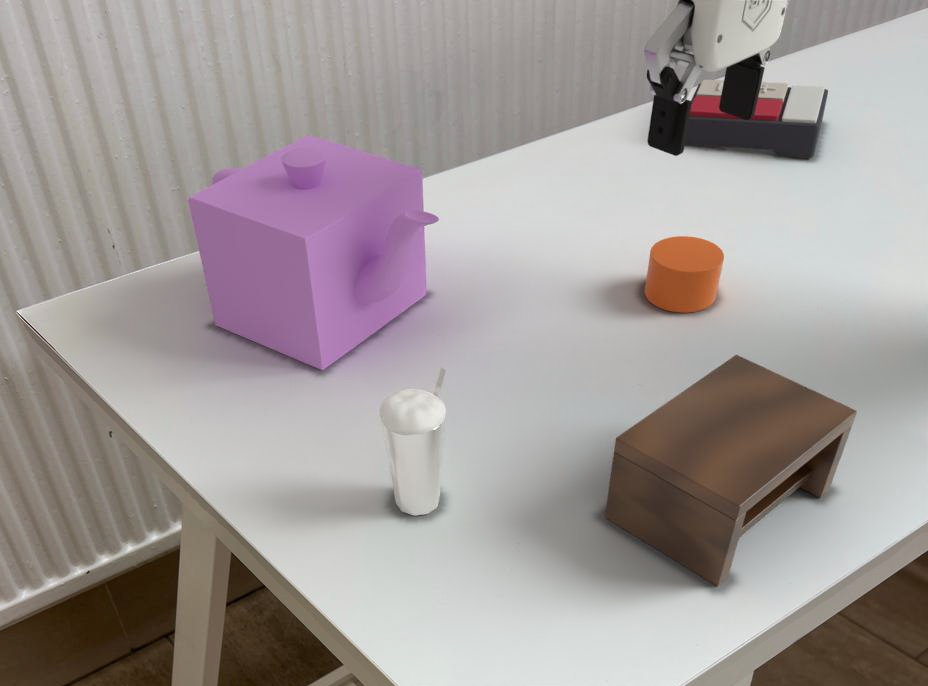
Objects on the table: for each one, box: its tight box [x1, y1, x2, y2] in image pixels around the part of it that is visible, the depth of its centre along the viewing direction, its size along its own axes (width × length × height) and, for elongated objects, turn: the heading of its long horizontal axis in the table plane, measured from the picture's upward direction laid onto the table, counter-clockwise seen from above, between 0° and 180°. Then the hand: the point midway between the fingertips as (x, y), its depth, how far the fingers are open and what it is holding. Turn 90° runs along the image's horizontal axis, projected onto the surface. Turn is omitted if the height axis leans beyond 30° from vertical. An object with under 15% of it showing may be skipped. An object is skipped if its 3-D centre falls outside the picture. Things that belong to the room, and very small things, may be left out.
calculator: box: [685, 79, 829, 159], centre depth 113 cm, size 11×4×15 cm
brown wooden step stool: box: [604, 354, 858, 587], centre depth 69 cm, size 10×14×7 cm
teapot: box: [187, 134, 440, 371], centre depth 85 cm, size 15×25×14 cm, turn 54°
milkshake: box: [379, 367, 447, 517], centre depth 69 cm, size 4×5×10 cm
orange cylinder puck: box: [644, 235, 725, 314], centre depth 90 cm, size 7×7×4 cm
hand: (701, 132), depth 80 cm, fingers open, 9 cm apart
